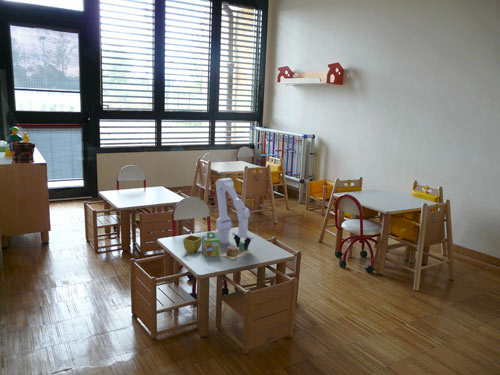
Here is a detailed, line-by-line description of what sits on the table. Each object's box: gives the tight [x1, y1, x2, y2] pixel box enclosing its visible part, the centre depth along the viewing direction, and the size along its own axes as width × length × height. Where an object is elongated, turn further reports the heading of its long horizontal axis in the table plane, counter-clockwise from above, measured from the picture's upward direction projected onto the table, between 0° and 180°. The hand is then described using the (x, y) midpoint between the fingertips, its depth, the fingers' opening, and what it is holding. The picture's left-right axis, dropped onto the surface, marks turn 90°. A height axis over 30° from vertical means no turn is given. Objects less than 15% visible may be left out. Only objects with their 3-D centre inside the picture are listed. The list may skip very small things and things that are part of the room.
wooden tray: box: [220, 240, 250, 261], centre depth 263 cm, size 10×19×6 cm, turn 149°
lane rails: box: [218, 245, 260, 262], centre depth 267 cm, size 14×26×2 cm, turn 149°
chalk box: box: [201, 231, 221, 258], centre depth 260 cm, size 9×9×15 cm
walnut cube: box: [225, 245, 239, 257], centre depth 259 cm, size 5×5×5 cm
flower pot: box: [182, 234, 202, 254], centre depth 266 cm, size 9×9×9 cm
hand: (242, 248), depth 269 cm, fingers closed on wooden tray, 5 cm apart
